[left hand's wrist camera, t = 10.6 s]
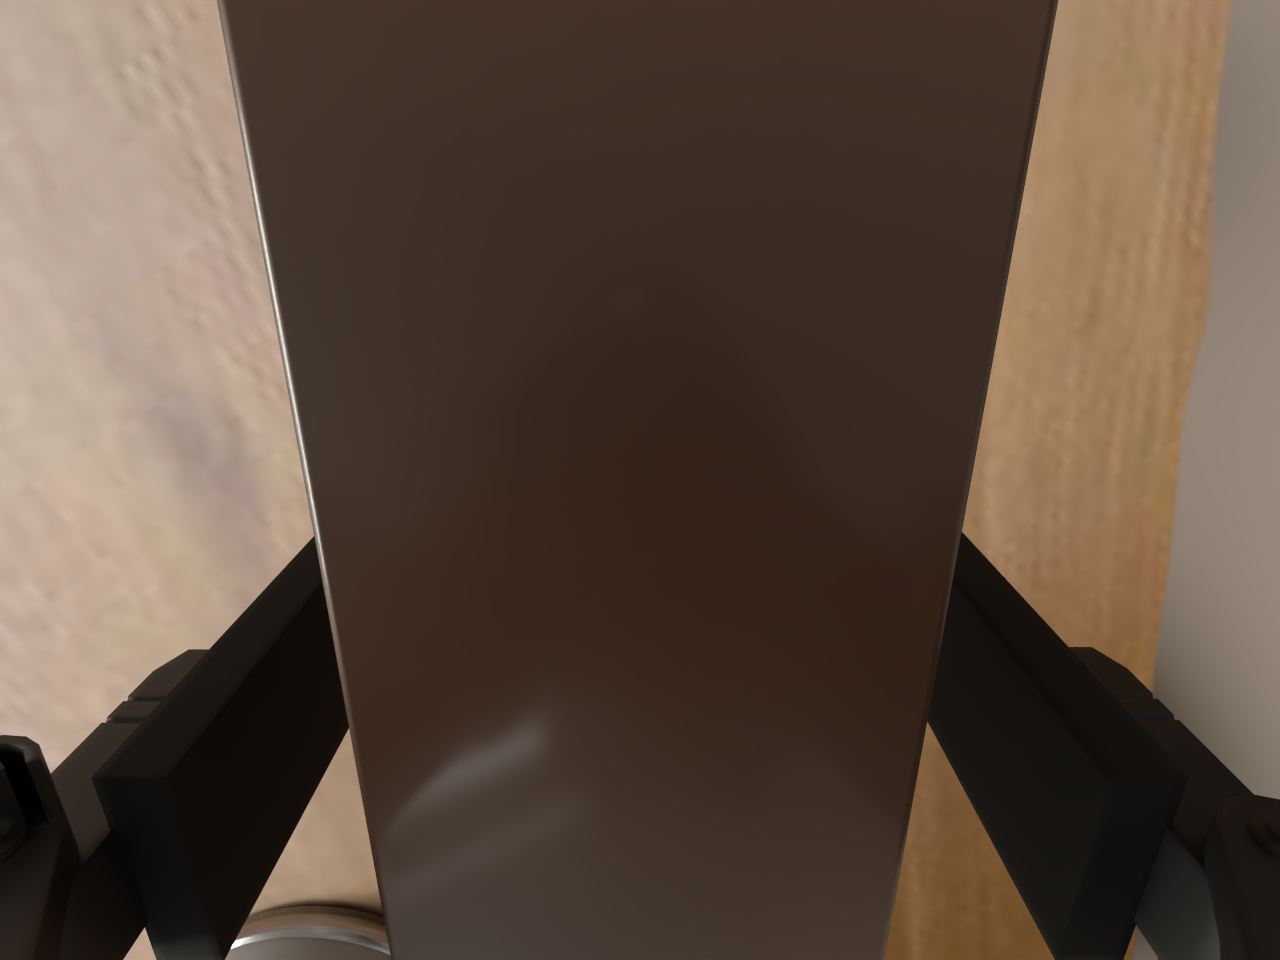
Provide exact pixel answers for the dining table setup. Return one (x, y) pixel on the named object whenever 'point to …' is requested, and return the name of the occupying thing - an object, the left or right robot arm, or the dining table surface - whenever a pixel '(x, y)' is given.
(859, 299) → the beam
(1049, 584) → the dining table surface
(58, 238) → the dining table surface
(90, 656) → the dining table surface
